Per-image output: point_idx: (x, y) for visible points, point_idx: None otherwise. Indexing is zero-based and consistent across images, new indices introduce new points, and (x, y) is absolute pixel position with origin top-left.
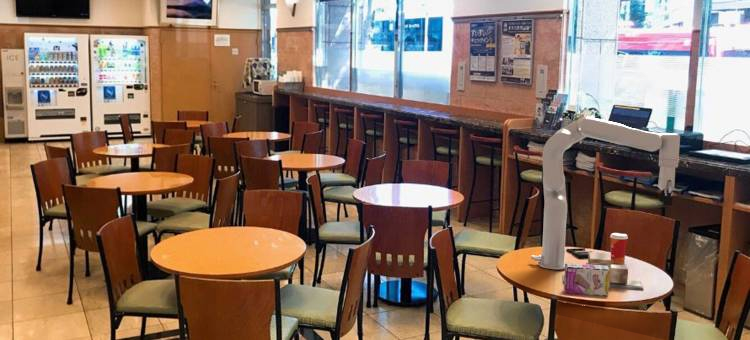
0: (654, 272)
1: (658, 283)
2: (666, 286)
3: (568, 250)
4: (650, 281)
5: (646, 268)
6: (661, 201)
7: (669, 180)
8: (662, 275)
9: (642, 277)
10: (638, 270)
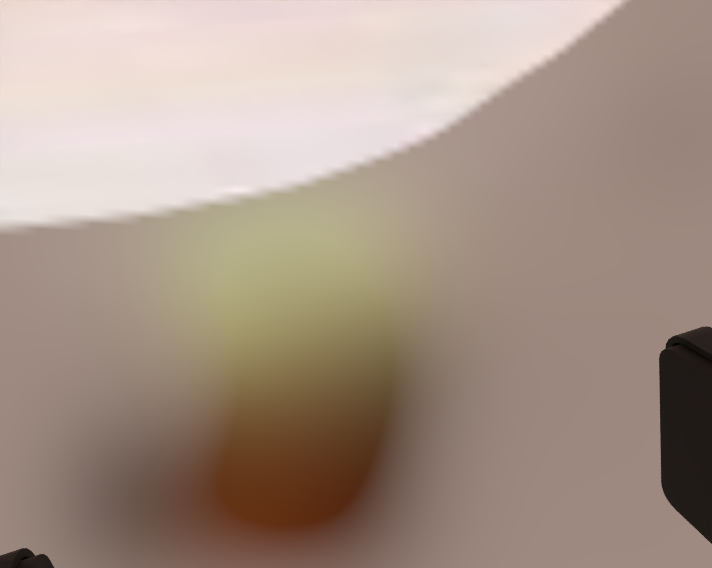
0: (384, 115)
1: (91, 167)
2: (43, 223)
3: None
4: (112, 111)
5: (469, 54)
6: (663, 370)
7: None
8: (329, 171)
9: (195, 47)
10: (387, 3)
